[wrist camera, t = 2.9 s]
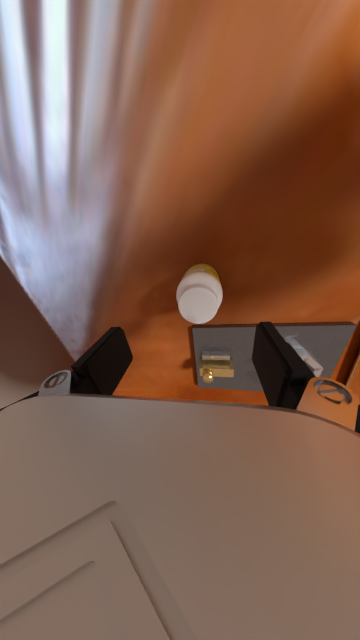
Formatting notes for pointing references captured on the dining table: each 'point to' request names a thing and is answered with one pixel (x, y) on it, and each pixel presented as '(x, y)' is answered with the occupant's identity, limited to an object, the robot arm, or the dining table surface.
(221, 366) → the bolt
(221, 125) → the dining table surface
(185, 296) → the supplement bottle
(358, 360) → the gold oval ring
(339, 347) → the dock
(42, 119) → the dining table surface
